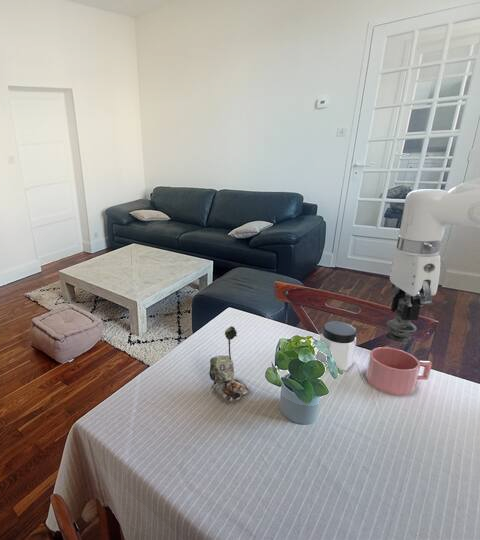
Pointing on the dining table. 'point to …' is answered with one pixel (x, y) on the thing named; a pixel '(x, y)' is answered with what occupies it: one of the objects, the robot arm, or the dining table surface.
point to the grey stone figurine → (400, 325)
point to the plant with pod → (226, 372)
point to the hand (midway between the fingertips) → (403, 314)
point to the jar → (339, 343)
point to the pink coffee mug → (395, 370)
